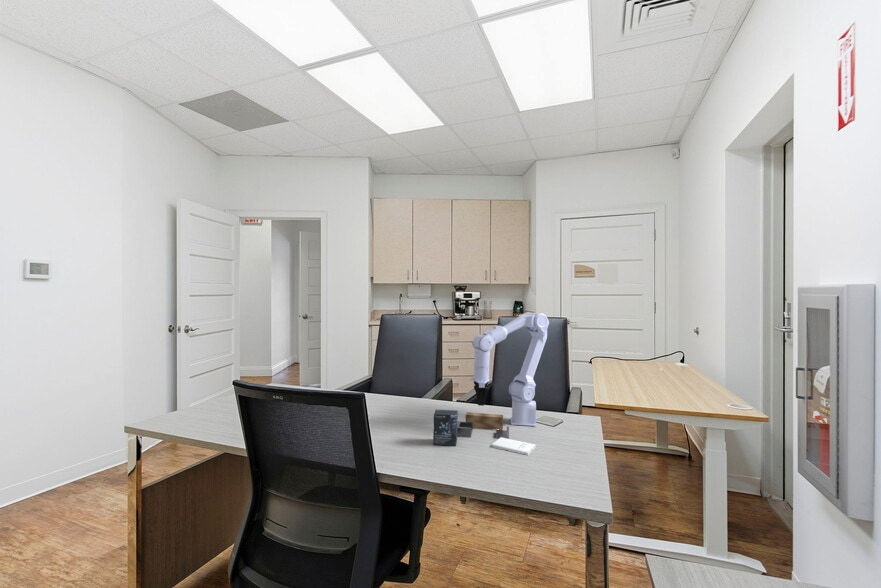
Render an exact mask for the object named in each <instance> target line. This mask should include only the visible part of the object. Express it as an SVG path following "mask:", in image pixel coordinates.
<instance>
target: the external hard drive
mask: <svg viewBox="0 0 881 588" xmlns="http://www.w3.org/2000/svg"><path fill="white" fill-rule="evenodd" d="M491 448H494V449H498V450H502V449H503V451H507V450H508V452H511V451H512V453H516V452H517V453H516V454H520V453H521V455H526V456H529V455H530V454H531V453H532V451H534V450H535V449H536V448H537V445H536V444H535V443H530V442H524V441H520V440H516V439H511V438H509V439H507V438H502V437H500V438H497V439H496V441H495V440H494V442H493V443H491Z"/></svg>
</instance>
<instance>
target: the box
mask: <svg viewBox="0 0 881 588" xmlns="http://www.w3.org/2000/svg"><path fill="white" fill-rule="evenodd" d="M458 415H459V411H458V410H454V409H453V410H450V409H447V410H446V409H435V410H434V414H433V431H432V433H433V439H432V440H433V442H432V445H435V446H450V447H451V446H452V447H456V446H457V443H458V436H457V427H458V421H459V420H458V419H459V417H458Z"/></svg>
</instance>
